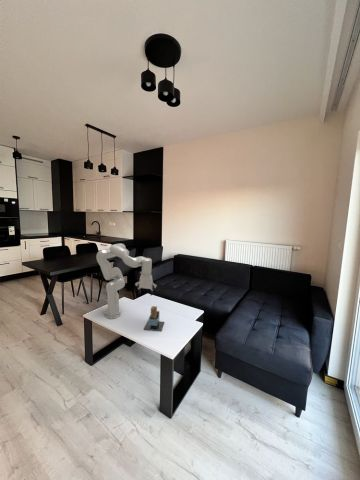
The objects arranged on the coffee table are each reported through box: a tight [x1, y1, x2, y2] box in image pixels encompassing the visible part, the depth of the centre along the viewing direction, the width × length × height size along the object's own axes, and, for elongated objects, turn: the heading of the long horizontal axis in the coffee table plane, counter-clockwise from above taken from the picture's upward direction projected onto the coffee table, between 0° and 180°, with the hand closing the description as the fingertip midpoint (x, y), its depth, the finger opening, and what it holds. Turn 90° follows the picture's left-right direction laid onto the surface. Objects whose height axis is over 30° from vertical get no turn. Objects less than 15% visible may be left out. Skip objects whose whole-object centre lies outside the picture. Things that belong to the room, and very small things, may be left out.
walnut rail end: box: [150, 305, 158, 319], centre depth 154 cm, size 4×4×12 cm
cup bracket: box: [143, 310, 165, 332], centre depth 156 cm, size 14×12×12 cm
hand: (145, 294), depth 156 cm, fingers open, 9 cm apart
